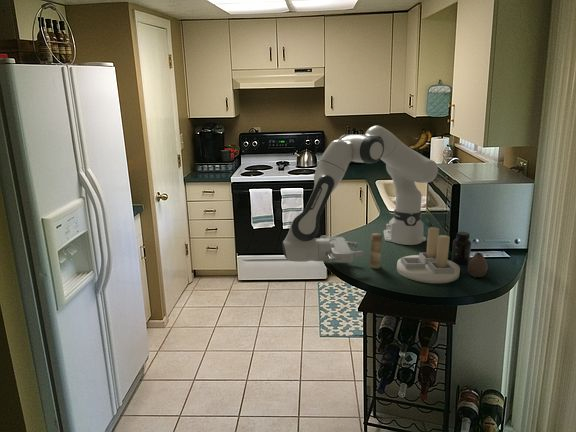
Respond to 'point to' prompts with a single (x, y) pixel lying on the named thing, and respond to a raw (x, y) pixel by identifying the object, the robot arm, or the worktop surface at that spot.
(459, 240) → the supplement bottle
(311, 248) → the robot arm
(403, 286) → the worktop surface
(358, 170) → the worktop surface
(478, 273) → the vase
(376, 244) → the stool leg
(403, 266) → the stool seat
